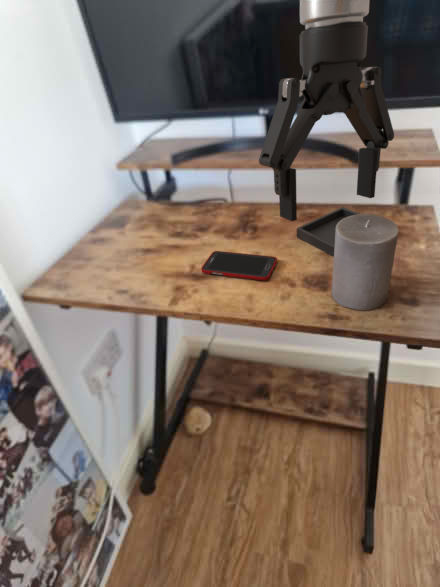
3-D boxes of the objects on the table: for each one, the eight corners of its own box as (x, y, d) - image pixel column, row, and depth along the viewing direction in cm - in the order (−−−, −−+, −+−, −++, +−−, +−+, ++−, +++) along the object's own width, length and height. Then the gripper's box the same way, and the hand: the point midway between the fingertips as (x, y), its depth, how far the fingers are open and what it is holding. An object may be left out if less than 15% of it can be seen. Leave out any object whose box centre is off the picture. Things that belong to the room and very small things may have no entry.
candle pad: (392, 237, 87) (394, 227, 85) (344, 262, 81) (345, 253, 80) (342, 215, 97) (342, 206, 96) (296, 237, 92) (296, 228, 90)
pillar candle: (368, 273, 78) (377, 201, 68) (399, 303, 70) (414, 226, 61) (321, 286, 76) (324, 214, 67) (348, 317, 69) (355, 241, 59)
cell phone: (268, 282, 79) (268, 278, 78) (200, 273, 84) (199, 269, 84) (278, 260, 84) (278, 256, 84) (213, 254, 90) (213, 250, 89)
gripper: (387, 22, 53) (374, 183, 63) (221, 36, 44) (237, 221, 54) (438, 12, 47) (415, 192, 57) (257, 27, 38) (267, 236, 48)
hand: (328, 206), depth 56 cm, fingers open, 13 cm apart
